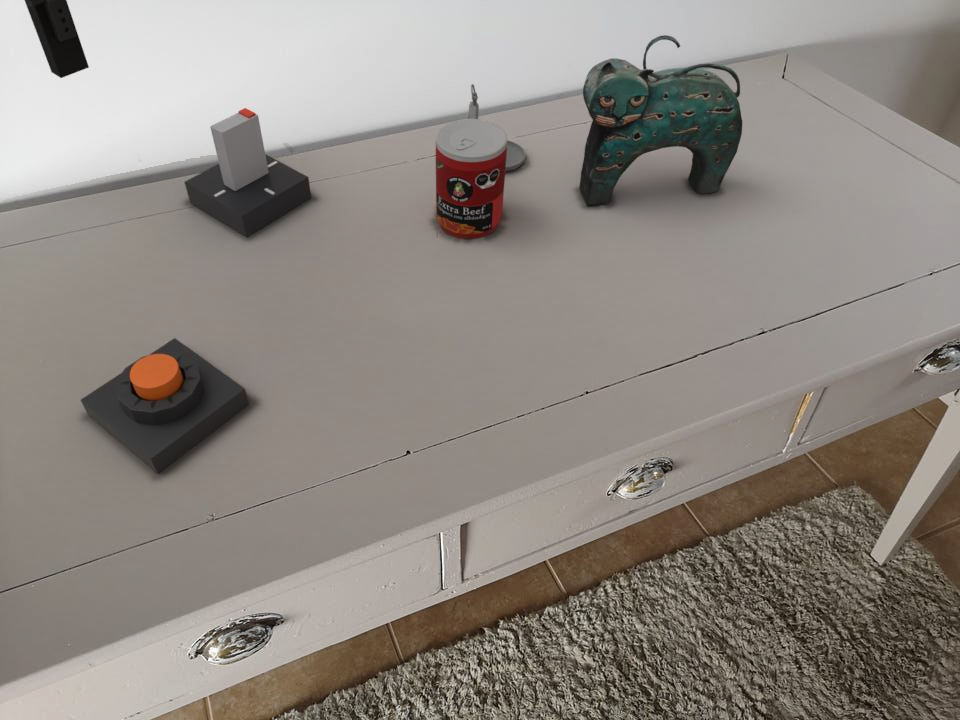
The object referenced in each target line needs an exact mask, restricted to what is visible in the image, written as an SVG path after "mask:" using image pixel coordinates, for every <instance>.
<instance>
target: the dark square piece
mask: <svg viewBox="0 0 960 720" xmlns="http://www.w3.org/2000/svg"><path fill="white" fill-rule="evenodd" d="M153 354H166V355H169V356H171V357H173V358H174V359H175V360H176V361H177V363H178V365H179V368H180V371H181V374H182V376H183V382H182V385H181V387H180V389H179V390H178V391H177V392H176V393H175V394H173V395H172V396H170V397H168V398H165V399H161V400H158V401H149V400H145V399H143V398H141V397H140V396H138V395H137V393H136V391H135V389H134V387H133V384H132V382H131V380H130V371H131V368H132V367H133V365H134V364H135V363H136V362H137V361H139V360H140V359H142V358H144V357H146V356H149V355H153ZM80 402H81V404H82V406H83V408H84V409H85V411H86V413H87V416H89V418H91V419H92V420H93V421H94V422H95V423H96V424H98V425H99V426H100V427H101V428H102V429H104V430H105V431H106V432H107V433H108V434H110V435H111V436H112V437H114V439H115V440H117V441H118V442H119V443H121V445H123V446H124V447H125V448H126V449H127V450H129V451H130V452H131V453H132V454H133V455H134V456H136V457H137V458H138V459H139V460H141V462H143V463H144V464H145V465H146V466H147V467H149V468H150V469H151V470H152V471H154V472H155V473H156V474H157V475H158V474H160V473H162V472H163V470H165V469H166V468H168V467H169V466H170V465H171V464H173V463H174V462H175V461H177V460H178V459H179V458H181V457H182V456H183V455H185V454H186V453H187V452H188V451H190V450H191V449H192V448H194V447H195V446H197V444H199V443H200V442H202V441H203V440H204V439H206V438H207V437H208V436H209V435H211V434H212V433H214V432H215V431H216V430H217V429H219V428H220V427H221V426H222V425H224V424H226V423H227V422H228V421H229V420H231V419H232V418H233V417H234V416H236V415H237V414H238V413H240V412H241V411H243V409H245V408H246V407H247V406H249V405H250V402H249V398H248V395H247V391H246V388H244V387H243V386H242V385H241V384H239V383H237V382H236V381H235V380H234V379H232V378H231V377H230V376H228V375H226V374H225V373H224V372H223V371H222V370H220V369H219V368H217V367H216V366H215V365H213V364H212V363H210V362H209V361H207V360H206V359H205V358H203V357H202V356H200V355H199V354H198V353H196V352H195V351H194V350H192V348H189V347H188V346H187V345H185V344H184V343H182V342H181V341H179V340H178V339H177V338H176V337H174V338H173V339H171V340H169V341H168V342H166V343H164V344H163V345H162V346H160V347H159V348H157V349H156V350H154V351H153V352H151V353H150V354H148V355H144V356H141V357H140V358H139V359H137V360H135V361H134V362H132V363H131V364H129V365H128V366H127V367H125V368H123V371H122V372H121V373H119V374H118V375H115V376H114V377H112V378H111V379H110V380H108V381H107V382H105V383H104V384H102V385H101V386H99V387H98V388H96V389H94V390H93V391H91V392H90V393H89V394H87V395H85V396H84V397H83V398H80Z"/></svg>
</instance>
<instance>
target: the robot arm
mask: <svg viewBox="0 0 960 720" xmlns="http://www.w3.org/2000/svg"><path fill="white" fill-rule="evenodd" d="M24 2H25V6H26V8H27V11H28V13H29V17H30V19H31V21H32V24H33V27H34V29H35V32H36V35H37V37H38V40H39V42H40V45H41V48H42V51H43V53H44V57H45V58H46V62H47V64H48V66H49V70H50V73H51V74H54V75H55V76H57V77H59V78H60V79H62V78H65V77H68V76H70V75H73V74H77V73H78V72H81V71H83V70H86V69H89V68H90V66H89V63H88V61H87V58H86V54H85V52H84V51H85V50H84V48H83V46H82V42H81V39H80V37H79V34H78V30H77V27H76V24H75V21H74V18H73V15H72V13H71V10H70V7H69V4H68V1H67V0H24Z"/></svg>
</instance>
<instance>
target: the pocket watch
mask: <svg viewBox="0 0 960 720" xmlns="http://www.w3.org/2000/svg"><path fill="white" fill-rule="evenodd" d="M470 93H471V101H470V102H469V104H468V116H467V117H468V118H467V119H479V108H480V107H479V103H478V99H479V96H478V93H477V92H476V88H475V85H474V84H473V83H471V85H470ZM525 158H526V151H525V150H524V148H523V147H522V146H521V144H518V143H516V142H515V141H511V140H508V139H507V156H506V169H505V172H507V171H513V170H515V169H518V168H519V167H520V166H522V164H524V162H525Z"/></svg>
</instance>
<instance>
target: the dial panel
mask: <svg viewBox="0 0 960 720" xmlns="http://www.w3.org/2000/svg"><path fill="white" fill-rule="evenodd" d="M265 155H266V161H267V166H268V171H269V173H268V174H266V175H264V176H262V177H260V178H259V179H257V180H255V181H253V182H251V183H250V184H248V185H246V186H244V187H242V188H241V189H239V190H237V191H234V190H232V189H231V188H229V187H227V186H225V185H224V182H223V178H222V174H221V169H220V165H219V163H217V164H215V165H213V166H211V167H209V168H207V169H205V170H204V171H201V172H200V173H198V174H196V175H194V176H193V177H190V178H189V179H187V180H185V181H184V185H185V190H186V193H187V197H188V200H189V203H190V204H191V205H193V206H194V207H196V208H198V209H199V210H200V211H202V212H204V213H206V214H208V215H209V216H210V217H213V218H214V219H216V220H217V221H218V222H221V223H222V224H224V225H226V226H227V227H229V228H231V229H232V230H234V231H236V233H238V234H241V235H242V236H244V237H246V238H249V237H250V236H252V235H253V234H255V233H256V232H259V231H260V230H262V229H263V228H265V227H266V226H268V225H270V224H271V223H272V222H275V221H276V220H278V219H279V218H281V217H283V216H284V215H286V214H288V213H289V212H291V211H292V210H294V209H296V208H298V207H299V206H301V205H303V204H304V203H306V202H307V201H309V200H311V199H312V191H311V186H310V180H309V176H307V175H305V174H304V173H301V172H300V171H298V170H296V169H294V168H292V167H290V166H289V165H287V164H285V163H283V162H281V161H280V160H278V159H276V158H274V157H272V156H270V155H268V154H266V153H265Z"/></svg>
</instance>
